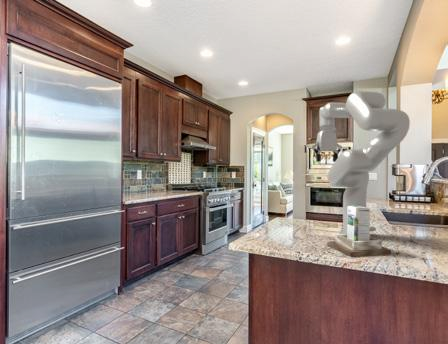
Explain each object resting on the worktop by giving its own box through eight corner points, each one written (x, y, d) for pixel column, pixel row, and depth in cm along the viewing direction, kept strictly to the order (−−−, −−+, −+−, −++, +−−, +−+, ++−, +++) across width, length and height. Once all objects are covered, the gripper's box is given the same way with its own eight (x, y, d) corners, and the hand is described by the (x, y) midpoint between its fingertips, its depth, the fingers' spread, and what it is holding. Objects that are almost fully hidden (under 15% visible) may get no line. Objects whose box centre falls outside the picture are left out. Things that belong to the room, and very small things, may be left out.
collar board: (363, 243, 106) (363, 232, 106) (391, 254, 93) (391, 241, 93) (327, 245, 104) (327, 234, 104) (350, 256, 90) (350, 243, 90)
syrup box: (346, 243, 101) (346, 205, 101) (360, 242, 101) (360, 205, 101) (355, 247, 95) (355, 208, 95) (370, 247, 96) (370, 207, 96)
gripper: (337, 131, 146) (337, 161, 146) (308, 130, 143) (308, 161, 143) (345, 129, 138) (345, 161, 138) (315, 128, 135) (315, 161, 135)
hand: (327, 161), depth 141 cm, fingers open, 9 cm apart
